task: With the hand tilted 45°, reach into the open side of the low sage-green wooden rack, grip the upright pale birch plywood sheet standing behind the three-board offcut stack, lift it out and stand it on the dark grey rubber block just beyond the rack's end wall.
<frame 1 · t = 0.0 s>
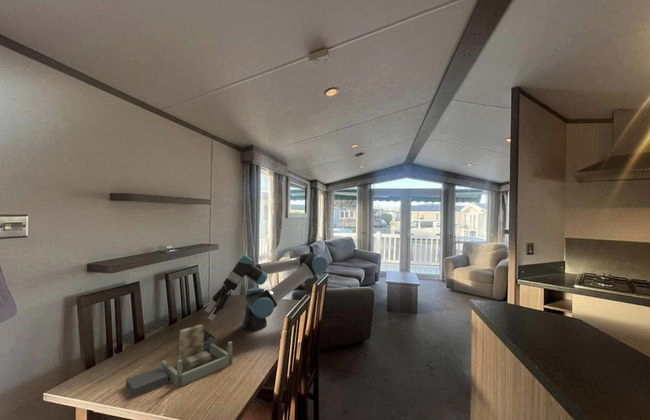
hand: (208, 315, 151), 15 cm above the table, tool tilted 35°, fingers open, 13 cm apart
beverage carton: (201, 345, 150), on the table
offcut stack: (197, 370, 125), on the table
rack: (196, 366, 129), on the table
rubber block: (147, 384, 114), on the table
birch sheet: (191, 362, 132), on the table
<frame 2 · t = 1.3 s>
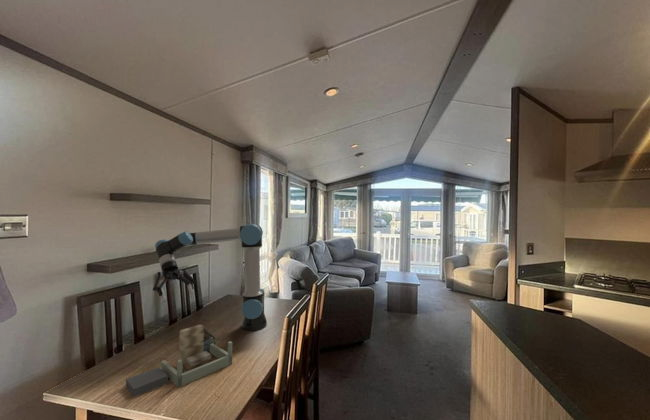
hand: (179, 298, 142), 27 cm above the table, tool tilted 45°, fingers open, 13 cm apart
nothing on the table moved.
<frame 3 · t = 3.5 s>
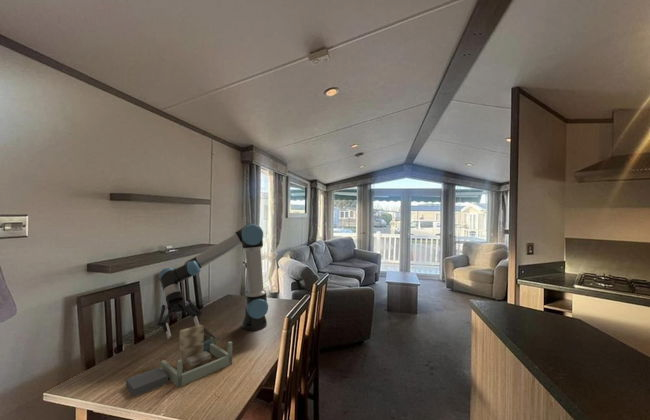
hand: (184, 333, 135), 13 cm above the table, tool tilted 45°, fingers open, 13 cm apart
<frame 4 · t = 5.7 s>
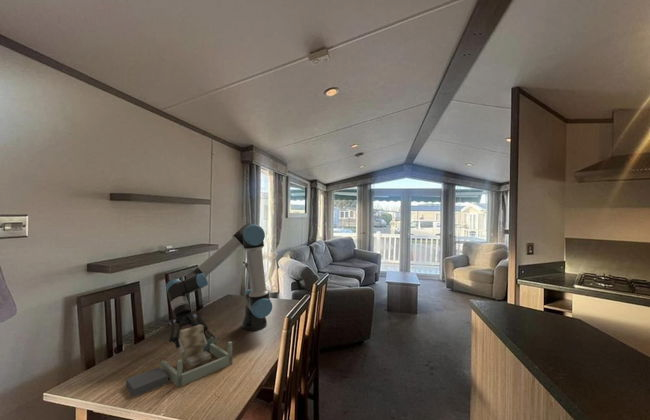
hand: (194, 349, 130), 7 cm above the table, tool tilted 45°, fingers closed on birch sheet, 10 cm apart
birch sheet: (191, 362, 132), on the table, touching gripper
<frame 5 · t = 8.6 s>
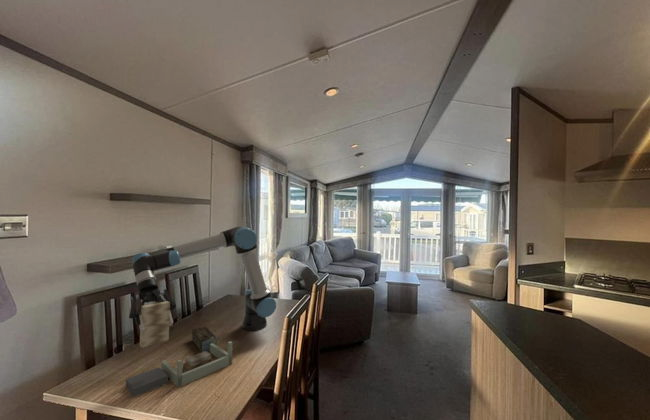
hand: (157, 327, 116), 22 cm above the table, tool tilted 45°, fingers closed on birch sheet, 10 cm apart
birch sheet: (154, 342, 118), point 16 cm above the table, touching gripper
when the fingers open (11 cm above the table, at t = 11.4 s): birch sheet stays where it is, resting on rubber block.
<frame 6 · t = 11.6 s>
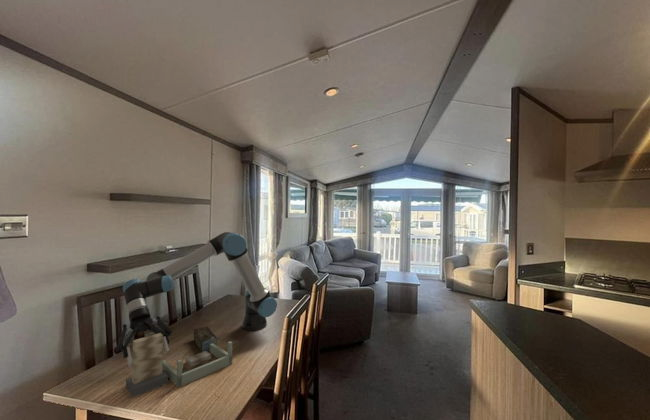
hand: (149, 358, 113), 12 cm above the table, tool tilted 45°, fingers open, 12 cm apart
birch sheet: (147, 377, 114), point 3 cm above the table, touching rubber block
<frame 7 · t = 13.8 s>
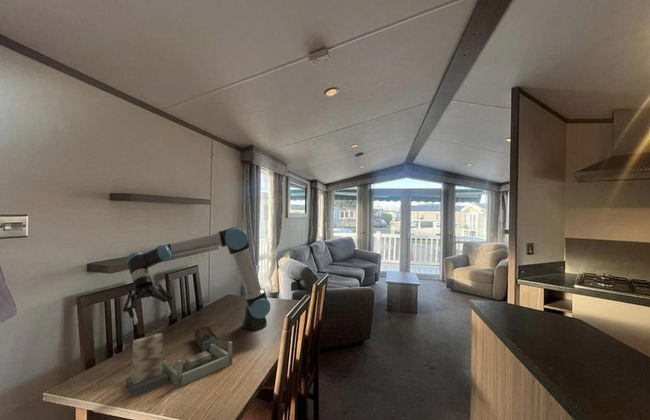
hand: (153, 318, 127), 22 cm above the table, tool tilted 45°, fingers open, 13 cm apart
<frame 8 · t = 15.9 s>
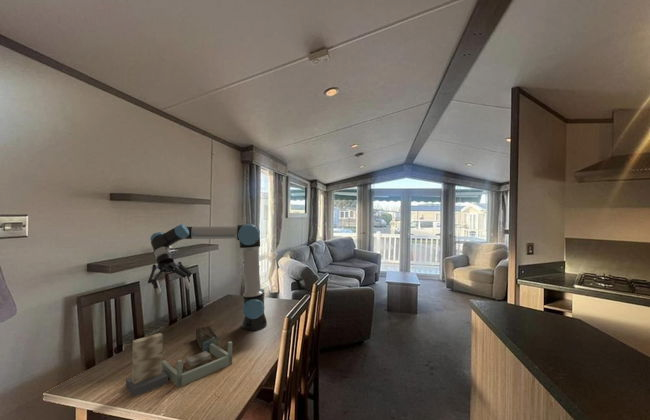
hand: (174, 290, 139), 32 cm above the table, tool tilted 45°, fingers open, 13 cm apart
at the end: birch sheet inside the target area (0.1 cm from its centre), point 3.0 cm above the table; birch sheet tilted 0° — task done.
